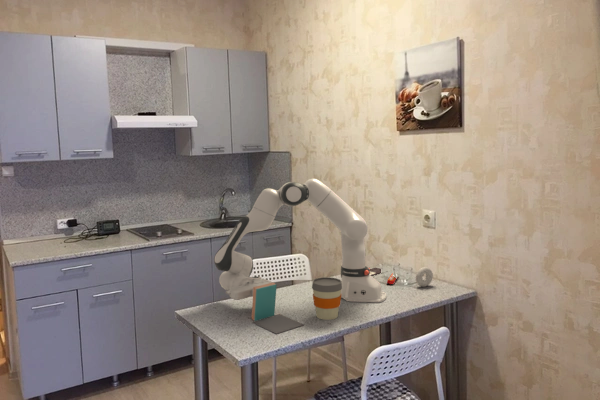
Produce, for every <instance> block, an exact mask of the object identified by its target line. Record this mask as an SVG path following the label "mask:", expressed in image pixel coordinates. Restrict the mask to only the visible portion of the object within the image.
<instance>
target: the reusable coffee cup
mask: <svg viewBox="0 0 600 400" xmlns="http://www.w3.org/2000/svg"><path fill="white" fill-rule="evenodd" d="M311 289H312V291H313V293H312V300H313V305H314V307H315V313H316V315H315V316H316V317H317V318H318V319H319V320H326V321H330V320H335V319H337V318H338V317H339V309H340V306H341V303H342V302H341V301H342V298H341V289H342V282H341V279H339V278H335V277H330V276H329V277H328V276H327V277H325V276H324V277H317V278H315V279H313V280H312V284H311Z"/></svg>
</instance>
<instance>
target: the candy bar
mask: <svg viewBox="0 0 600 400" xmlns="http://www.w3.org/2000/svg"><path fill="white" fill-rule="evenodd" d="M393 273H394V272H392V273H391V275H390V276H389V278H388V279H387V282H386V283H387V284H389V285H391V284H393V285H394V284H395V283H396V281H397V280H396V278H395V277H394V276H393ZM395 280H396V281H395ZM394 282H395V283H394Z"/></svg>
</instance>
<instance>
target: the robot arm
mask: <svg viewBox="0 0 600 400" xmlns="http://www.w3.org/2000/svg"><path fill="white" fill-rule="evenodd" d="M304 202H308V203H310V204H311V205H312V206H313V207H314V208H315V209H317V210H318V212H320V214H322V215H323V216H325V218H327V220H329V222H330V223H331V224H333V225H334V226H335V227H336V228H337V229H338V230H339V231H340V239H341V241H340V242H341V265H340V278H341V279H340V280H341V282H342V289H341V299H344V300H345V301H347V302H353V303H357V302H358V303H359V302H360V303H382V302H384V301H385V300H386V299H387V297H388V296H387V293H386V292H384V291H382V285H381V283H380V282H379V280H377V279H376V278H374V276H371V275H369V274H370V269H371V268H370V267H367V266H366V243H365V237H366V236H367V233H368V231H369V230H368V229H369V227H368V223H367V222H366V220H365V219H364V218H363V216H361V214H359V213H358V212H356V210H354V209H353V208H352V207H351V206H350V205H349V204H348V203H346V201H344V200H343V199H342V198H341V197H340V196H339V195H337V194H336V192H334V190H332V189H331V188H330V187H328V185H326V184H324V183H323V181H320V180H319V179H317V178H309V179H307V180H306V181H305V182H303V183H300V182H295V181H289V182H286V183H284V184H283V185H281V186H280V187H279V188H278V189H275V188H269V187H268V188H265V189H262V191H261V192H260V193H259V195H258V197H257V199H256V200H255V201H254V204H253V206H252V208H251V210H250V211H249V212H248V213H247V214H246V215H245V216H242V217H241V218H240V219H239V220H238V221H237V222H236V225H234V227H233V229H232V231H231V232H230V234H229V235H228V237H227V238H226V240H225V241H224V242H223V244H222V245H221V247H220V248H219V249H218V250H217V252H216V253H215V254H214V258H213V262H214V266H215V267H216V269H217V270H219V271H222V272H221V274H220V275H219V278H218V282H219V284H220V286H221V288H222V289H224V290H225V294H226V295H229V298H231V299H233V300H234V301H241V300H244V299H248V298H253V287H256V286H261V285H265V284H269V283H274V282H273V281H271V280H268V279H265V278H262V276H251V275H252V273H253V269H254V261H253V259H252V256H250V255H247V254H245V253H242V252H238V251H235V250H236V248H237V246H238V244H240V242H241V240H242V239H243V237H244V236H245V235H247V234H248V233H252V232H262V231H265V230H268V229H269V228H270V227H271V226H272V224H273V222H274V221H275V218H276V216H277V213H278V211H279V210H280V208H281V207H282V206H287V207H296V206H298V205H301V204H302V203H304Z"/></svg>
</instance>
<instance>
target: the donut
mask: <svg viewBox="0 0 600 400" xmlns="http://www.w3.org/2000/svg"><path fill="white" fill-rule="evenodd" d="M433 274H434V273H433V271H432V269H431V268H429V267H428V266H422V267H421V268H419V269H418V270H417V272H416V274H415V281H416V284H417V285H418V286H420V287H421V288H424V287H428V286H429V285H430V284H431V283H432V281H433V279H434V275H433ZM424 275H425V278H424V279H423V277H424Z"/></svg>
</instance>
